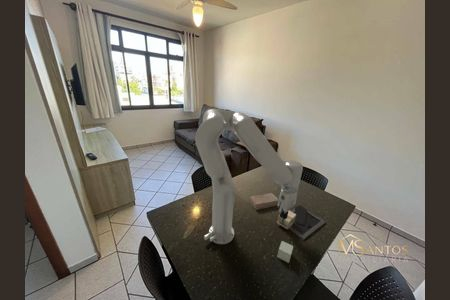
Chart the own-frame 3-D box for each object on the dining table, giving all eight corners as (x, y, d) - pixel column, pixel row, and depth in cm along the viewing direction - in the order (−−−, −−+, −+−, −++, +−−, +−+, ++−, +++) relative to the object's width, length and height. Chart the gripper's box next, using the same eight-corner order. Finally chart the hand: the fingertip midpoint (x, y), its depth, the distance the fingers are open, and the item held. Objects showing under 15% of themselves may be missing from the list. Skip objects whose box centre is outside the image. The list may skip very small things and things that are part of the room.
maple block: (288, 221, 88) (296, 214, 93) (278, 215, 92) (285, 208, 97) (287, 229, 90) (294, 221, 95) (276, 222, 94) (284, 215, 99)
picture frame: (299, 207, 109) (276, 220, 98) (299, 204, 109) (277, 217, 97) (324, 223, 97) (302, 241, 86) (325, 221, 96) (303, 238, 85)
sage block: (288, 263, 74) (290, 254, 72) (277, 257, 77) (278, 248, 75) (291, 254, 78) (293, 246, 76) (280, 248, 81) (281, 240, 79)
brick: (271, 197, 117) (272, 191, 115) (278, 205, 109) (279, 199, 108) (248, 202, 111) (249, 196, 110) (255, 210, 104) (256, 204, 102)
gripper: (289, 196, 75) (282, 229, 81) (304, 184, 84) (297, 214, 91) (273, 188, 80) (268, 220, 86) (289, 178, 89) (284, 207, 96)
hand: (283, 217), depth 89 cm, fingers closed
